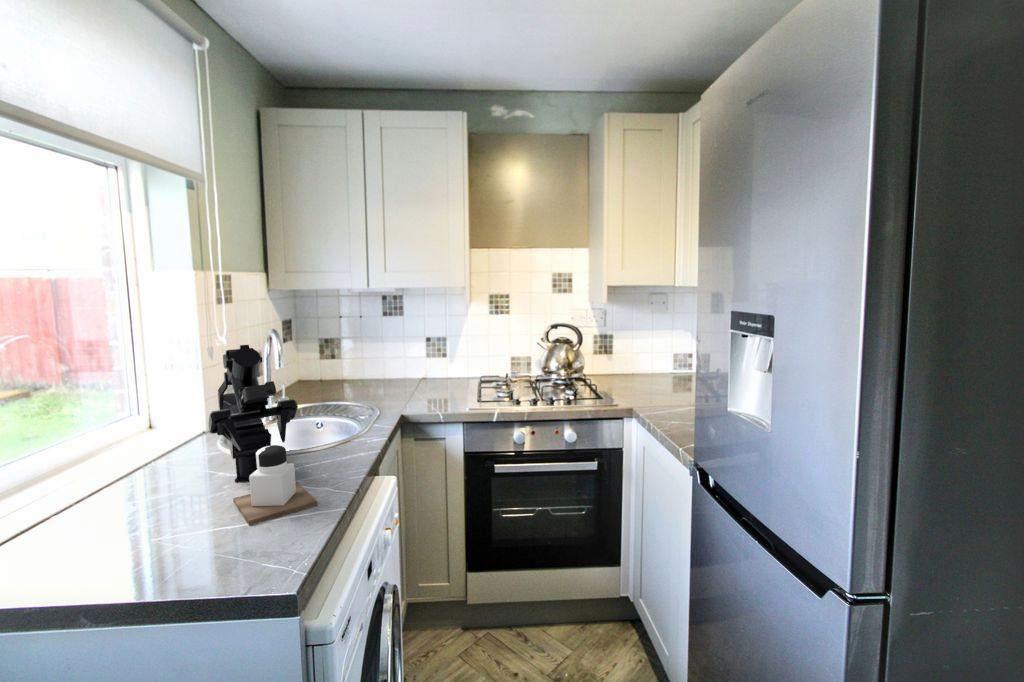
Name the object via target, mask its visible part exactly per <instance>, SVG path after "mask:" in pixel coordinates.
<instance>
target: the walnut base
mask: <svg viewBox="0 0 1024 682" xmlns="http://www.w3.org/2000/svg"><path fill="white" fill-rule="evenodd" d="M295 484H296V493H295V494H294V495H293V496H292V497H291V498H290V499H289V500H288V502H287V503H286V504H285V505H284V506H252V505H251V493H249V494H244V495H242V496H241V495H240V496H236V497H233V498H232V499H233V500H232V502H233V504H234V505H235V507H236V508H237V510H238V511H239V513H240V514H241V516H242V517H243V519H244V520H245V522H246V523H247V524H248V526H251V525H256V524H258V523H262V522H266V521H269V520H273V519H275V518H278V517H283V516H287V515H289V514H293V513H298V512H300V511H303V510H307V509H310V508H314V507H318V500H317V499H315V498H314V497H313V495H311V494H310V493H309V492H308V491H307V490H306V489H305V488H304V487H303V486H302V485H301V484H300V483H299V482H297V481H295Z"/></svg>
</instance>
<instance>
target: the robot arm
mask: <svg viewBox="0 0 1024 682" xmlns="http://www.w3.org/2000/svg"><path fill="white" fill-rule="evenodd" d="M222 362H223V363H222V364H223V368H224V369H226V371H225V372H223V382H222V383H221V384H220V386H219V388H218V389H217V398H218V399H217V400H218V401H217V402H218V410H213V411H211V412H210V413H209V417H208V430H209V434H212V435H215V434H216V435H217V436H223V437H224V438H226V439H227V440H228V441H229V449H230V455H231V458H232V460H235V469H236V470H235V472H236V477H235V479H234V482H235V483H238V482H239V483H240V482H250V480H249V476H250V475H251V474H252V473H253V472H255V471H256V470H257V461H256V452H257V451H258V450H259V449H261V448H263V447H266V446H272V445H271V444H272V433H270V432H269V429H268V428H266V426H265V425H264V422H263V420H262V419H264V418H269V417H275V418H276V420H277V422H276V425H277V428H278V434H279V437H280V440H281V442H282V443H286V435H287V434H286V433H287V432H286V431H287V424H288V423H290V422H291V420H294V419H295V417H296V414H297V411H298V408H299V406H298V402H297V400H295V399H294V398H290V399H283V400H278V401H277V404H276V407H275V406H274V407H269V408H267V407H266V406H268V405H269V400H268V399H269V398H270V397H273V396H275V395H276V394H277V389H276V385H275V384H276V383H275V381H273V380H272V381H266V382H265V383H264V384H260V382H259V379H258V376H259V374H260V365H261V363H263V357H262V356H261V354H260V353H259V352H258V351H257V349H255V348H254V347H250V344H240V345H239V348H234V349H233V348H232V349H226V350H225V354H223V355H222ZM229 386H232V389H233V392H230V393H226V391H227V390H228V388H229Z"/></svg>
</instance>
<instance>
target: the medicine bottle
mask: <svg viewBox="0 0 1024 682" xmlns="http://www.w3.org/2000/svg"><path fill="white" fill-rule="evenodd" d="M256 461H257V470H256V471H255V472H253V473H252V474H251V475H250V476H249V480H250V481H249V488H250V489H249V490H250V492H249V493H250V494H251V505H252V506H284V505H285V504H286V503H287V502H288V500H289V499H290V498H291V497H292V496H293V495H294V494H295V493H296V484H295V482H296V472H295V471H296V470H295V463H288V462H287V449H286V448H285V446H282V445H275V444H274V445H271V446H266V447H263V448H261V449H259V450H258V451H257V452H256Z"/></svg>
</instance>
